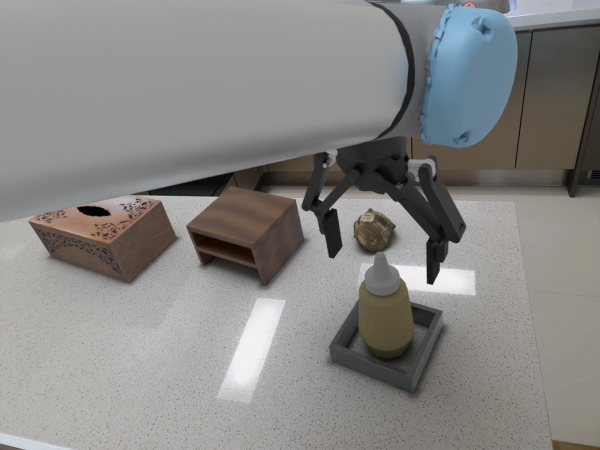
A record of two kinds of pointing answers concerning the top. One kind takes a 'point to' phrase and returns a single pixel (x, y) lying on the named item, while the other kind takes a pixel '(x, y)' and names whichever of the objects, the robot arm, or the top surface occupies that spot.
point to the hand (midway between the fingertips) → (381, 264)
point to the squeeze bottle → (385, 310)
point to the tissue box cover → (107, 234)
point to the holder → (382, 369)
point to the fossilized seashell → (373, 230)
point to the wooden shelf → (248, 230)
